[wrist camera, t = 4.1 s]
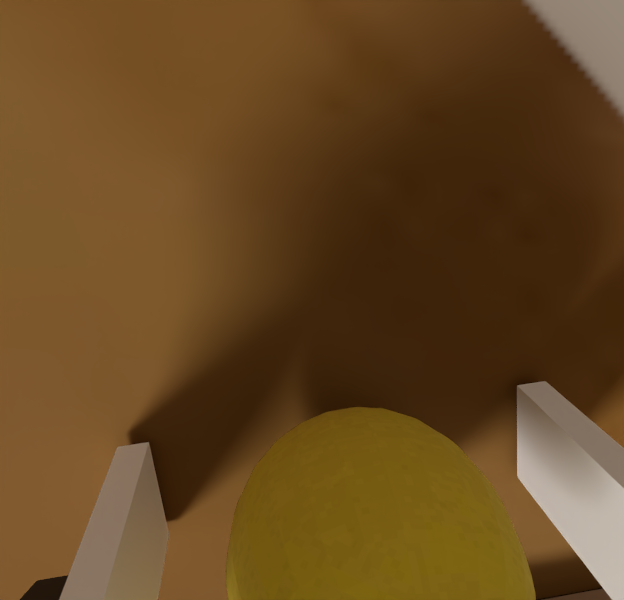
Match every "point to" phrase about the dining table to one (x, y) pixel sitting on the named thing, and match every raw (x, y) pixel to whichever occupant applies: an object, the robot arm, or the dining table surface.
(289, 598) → the lemon
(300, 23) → the dining table surface
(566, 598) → the organizer
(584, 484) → the robot arm
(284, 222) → the dining table surface
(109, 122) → the dining table surface
